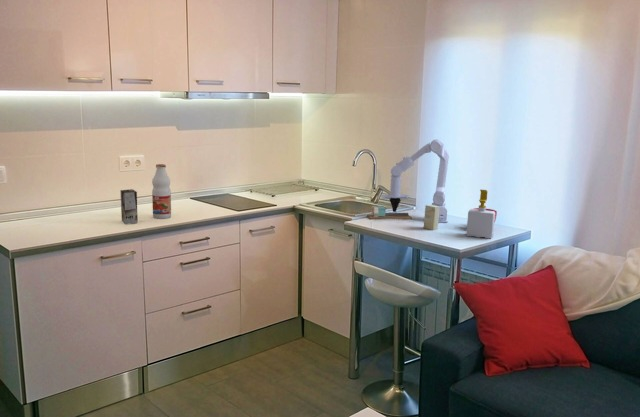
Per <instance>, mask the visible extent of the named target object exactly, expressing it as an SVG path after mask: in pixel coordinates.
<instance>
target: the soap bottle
mask: <svg viewBox="0 0 640 417" xmlns="http://www.w3.org/2000/svg"><path fill="white" fill-rule="evenodd" d="M479 191H480V195H479V196H480V197H479V200H478V201H479V203H480V204H479V205H478V208H479V209H478V210H477V209H474V208H471V209H469V210H468V211H467V222H466V233H465V234H466V237H471V236H476V237H475V238H480V237H485V238H484V239H488V238H491V239H492V238H493V237H494V231H495V223H496V220H495V212H494V211H487V210H486V209H487V206H486V205H485V204H486V202H487V200H488V190H487V189H480V190H479Z"/></svg>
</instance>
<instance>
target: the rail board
mask: <svg viewBox="0 0 640 417" xmlns="http://www.w3.org/2000/svg"><path fill="white" fill-rule="evenodd" d="M376 206H377V205H371V213H370V214H369V213H367V214H368V215H367V216H366V218H368V219H369V220H413V217H412V216H411V215H409V212H385V216H378V207H376Z"/></svg>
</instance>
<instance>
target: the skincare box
mask: <svg viewBox="0 0 640 417" xmlns="http://www.w3.org/2000/svg"><path fill="white" fill-rule="evenodd" d="M424 206H425V208H424V216H423V217H424V219H423V229H425V230H429V231H435V230H438V228H439V222H438V219H439V209H440V206H435V205H432V204H425V205H424Z"/></svg>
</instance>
